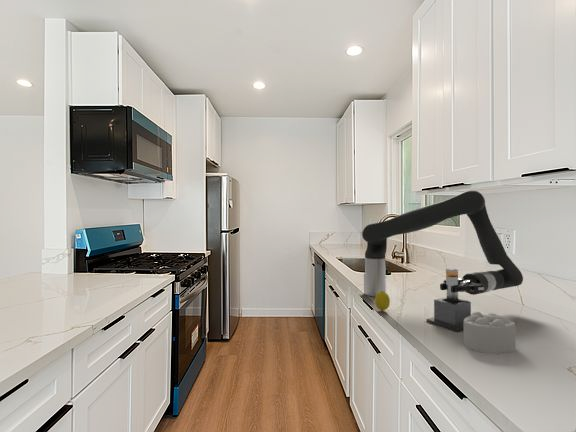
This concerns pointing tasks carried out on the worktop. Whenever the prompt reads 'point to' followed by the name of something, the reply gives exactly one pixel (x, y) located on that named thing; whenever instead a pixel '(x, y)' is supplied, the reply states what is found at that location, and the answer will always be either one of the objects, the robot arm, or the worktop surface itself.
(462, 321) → the dark grey open bin
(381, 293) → the lemon
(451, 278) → the silver copper-banded cylinder
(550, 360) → the worktop surface
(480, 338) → the lumpy-topped squat cylinder
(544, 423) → the worktop surface
